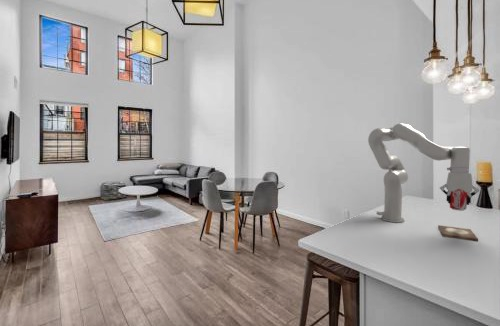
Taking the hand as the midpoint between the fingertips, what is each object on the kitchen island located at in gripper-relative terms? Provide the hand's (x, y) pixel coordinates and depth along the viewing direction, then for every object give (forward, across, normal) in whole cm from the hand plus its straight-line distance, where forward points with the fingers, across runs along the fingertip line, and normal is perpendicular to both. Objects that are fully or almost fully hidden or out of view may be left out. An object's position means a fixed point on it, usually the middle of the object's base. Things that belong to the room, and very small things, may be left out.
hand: (458, 203), depth 131 cm
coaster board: (+16, 0, 0) cm, 16 cm away
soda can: (+3, 0, 0) cm, 3 cm away
